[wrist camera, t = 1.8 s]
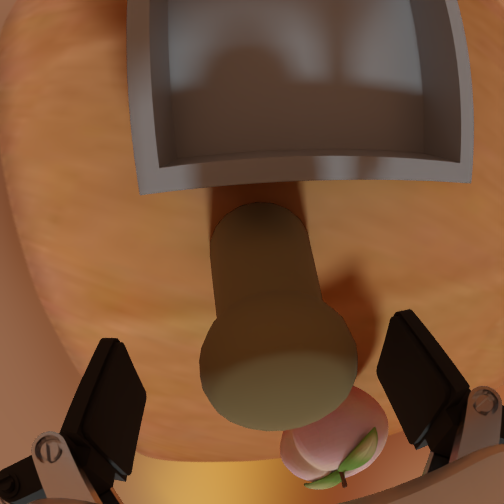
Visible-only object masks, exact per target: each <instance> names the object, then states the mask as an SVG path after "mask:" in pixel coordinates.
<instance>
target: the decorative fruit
mask: <svg viewBox="0 0 504 504" xmlns="http://www.w3.org/2000/svg"><path fill="white" fill-rule="evenodd" d="M387 436H388V420H387V417H386V414H385V412H384V410H383V409H382V407H381V406H380V405H379V403H378V402H377V401H376V400H375V399H374V398H373V397H371V396H370V395H369V394H367V393H366V392H364V391H363V390H361V389H359V388H357V387H355V386H352V388H351V391H350V393H349V395H348V397H347V398H346V399H345V400H344V401H343V402H342V403H341V405H340V406H339V407H338V408H337V409H336V410H334V411H333V412H331V413H329V414H328V415H326V416H325V417H323V418H322V419H320V420H318V421H316V422H313V423H311V424H308V425H306V426H303V427H300V428H295V429H290V430H285V431H283V434H282V439H281V443H280V455H281V458H282V461H283V463H284V464H285V466H286V467H287V468H288V469H289V470H290V471H291V472H292V473H293V474H294V475H296V476H298V477H299V478H302V479H304V480H307V481H311V482H312V483H305V484H304V486H305V487H307V488H310V489H326V488H330V487H333V486H335V485H337V484H339V483H340V482H342V486H343V488H345V487H347V483H346V479H345V478H346V477H349V476H352V475H354V474H356V473H358V472H360V471H362V470H363V469H365V468H366V467H368V466H369V465H370V464H371V463H372V462H373V461H374V460H375V459H376V458H377V457H378V455H379V454H380V453H381V451H382V449H383V447H384V445H385V443H386V440H387Z"/></svg>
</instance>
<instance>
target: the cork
mask: <svg viewBox="0 0 504 504" xmlns="http://www.w3.org/2000/svg"><path fill="white" fill-rule="evenodd" d="M210 260H211V270H212V280H213V289H214V298H215V307H216V315H217V319H216V320H215V321H214V322H213V324H212V326H211V328H210V330H209V331H208V334H207V336H206V338H205V341H204V343H203V345H202V348H201V353H200V360H199V364H200V378H201V383H202V388H203V391H204V392H205V394H206V396H207V397H208V399H209V401H210V402H211V404H212V405H213V407H214V408H215V409H216V411H217V412H218V413H219V414H220V415H222V416H223V417H224V418H226V419H227V420H229V421H230V422H232V423H235V424H237V425H240V426H243V427H245V428H250V429H256V430H262V431H285V430H290V429H295V428H300V427H303V426H306V425H308V424H311V423H313V422H316V421H318V420H320V419H322V418H323V417H325V416H326V415H328V414H329V413H331V412H333V411H334V410H336V409H337V408H338V407H339V406H340V405H341V403H342V402H343V401H344V400H345V399H346V398H347V397H348V395H349V393H350V391H351V388H352V386H353V384H354V381H355V378H356V375H357V348H356V343H355V341H354V339H353V337H352V335H351V333H350V331H349V329H348V327H347V325H346V323H345V322H344V320H343V318H342V317H341V316H340V315H339V314H338V313H337V312H336V311H335V310H334V309H332V308H331V307H330V306H329V305H327V304H326V303H325V302H323V300H322V295H321V290H320V286H319V281H318V276H317V272H316V267H315V263H314V259H313V254H312V250H311V246H310V241H309V237H308V233H307V231H306V229H305V228H304V226H303V224H302V222H301V221H300V219H299V218H297V217H296V216H295V215H294V214H293V213H292V212H291V211H289V210H288V209H286V208H283V207H281V206H278V205H276V204H273V203H259V202H256V203H252V204H248V205H243V206H240V207H238V208H237V209H235V210H233V211H232V212H230V213H228V214H227V215H226V216H225V217H224V218H223V219H222V220H221V222H220V223H219V224H218V225H217V226H216V228H215V231H214V233H213V236H212V238H211V241H210Z"/></svg>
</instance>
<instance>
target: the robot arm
mask: <svg viewBox="0 0 504 504" xmlns="http://www.w3.org/2000/svg"><path fill="white" fill-rule="evenodd" d="M377 376H378V379H379V381H380V383H381V385H382V387H383V389H384V391H385V393H386V395H387V397H388V399H389V401H390V403H391V405H392V407H393V409H394V411H395V413H396V416H397V418H398V420H399V422H400V424H401V426H402V428H403V431H404V433H405V435H406V437H407V439H408V441H409V443H410V444H414V446H415V449H416V450H417V449H420V448H422V447H425V446H427V445H428V446H429V448H430V450H431V451H430V454H429V458H428V460H427V463H426V466H425V469H424V472H423V475H422V476H420V477H418V478H415V479H413V480H411V481H408V482H406V483H403V484H400V485H398V486H395V487H393V488H390V489H387V490H384V491H381V492H378V493H375V494H372V495H368V496H365V497H362V498H358V499H355V500H351V501H348V502H343V503H339V504H504V406H503V405H502V400H501V398H500V396H499V394H498V393H497V392H496V391H495V390H494V389H492V388H490V387H487V386H479V387H476V388H474V389H473V390H472V391H471V390H470V389H469V387H470V386H469V384H468V383H467V381H466V380H465V379H464V377H463V376H462V374H461V373H460V372H459V370H458V369H457V367H456V366H455V365H454V363H453V362H452V361H451V359H450V358H449V357H448V355H447V354H446V353H445V351H444V350H443V349H442V347H441V346H440V345H439V343H438V342H437V341H436V340H435V338H434V337H433V336H432V334H431V333H430V332H429V331H428V329H427V328H426V327H425V326H424V324H423V323H422V322H421V321H420V319H419V318H418V317H417V316H416V314H415V313H414V312H413V311H412V310H410V309H409V310H404V311H399V312H396V313H395V314H394V317H391V319H390V322H389V326H388V330H387V334H386V338H385V342H384V345H383V349H382V352H381V356H380V359H379V362H378V365H377ZM145 403H146V391H145V389H144V387H143V385H142V383H141V381H140V379H139V377H138V374H137V372H136V370H135V368H134V366H133V363H132V361H131V359H130V357H129V354H128V352H127V350H126V347H125V345H124V343H122V342H120V341H119V340H118V339H117V338H102V339H101V340H100V342H99V344H98V346H97V348H96V350H95V352H94V354H93V356H92V358H91V361H90V363H89V365H88V367H87V369H86V371H85V374H84V376H83V377H82V380H81V382H80V384H79V386H78V389H77V391H76V393H75V396H74V398H73V401H72V403H71V405H70V408H69V410H68V413H67V415H66V418H65V420H64V423H63V426H62V428H61V431H60V433H56V432H50V431H49V432H45V433H42V434H41V435H39V436H38V437H37V438H36V439H35V440H34V442H33V444H32V449H31V453H32V455H31V456H29V457H27V458H25V459H23V460H21V461H19V462H17V463H15V464H13V465H11V466H9V467H7V468H5V469H3V470H1V471H0V504H124V503H123V502H122V501H121V499H120V497H119V496H118V494H117V493H116V491H115V490H114V488H113V483H114V480H120V481H125V482H126V478H127V475H130V474H131V472H132V467H133V461H134V456H135V451H136V445H137V440H138V435H139V431H140V426H141V421H142V416H143V412H144V407H145Z"/></svg>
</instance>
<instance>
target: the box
mask: <svg viewBox="0 0 504 504" xmlns="http://www.w3.org/2000/svg"><path fill="white" fill-rule="evenodd" d="M127 79H128V96H129V110H130V121H131V132H132V141H133V150H134V158H135V165H136V173H137V179H138V186H139V192H140V195H145V194H152V193H160V192H168V191H177V190H186V189H195V188H205V187H215V186H227V185H239V184H252V183H268V182H286V181H309V180H356V179H376V180H422V181H443V182H460V183H471V179H472V166H473V145H474V113H473V93H472V81H471V71H470V63H469V55H468V49H467V43H466V37H465V32H464V27H463V23H462V18H461V14H460V10H459V6H458V2H457V0H127Z"/></svg>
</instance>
